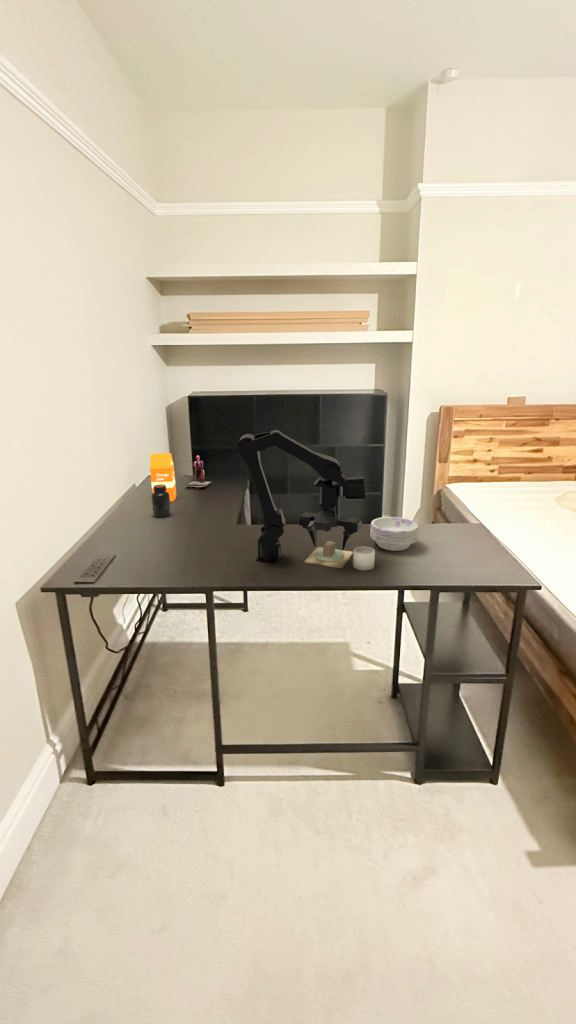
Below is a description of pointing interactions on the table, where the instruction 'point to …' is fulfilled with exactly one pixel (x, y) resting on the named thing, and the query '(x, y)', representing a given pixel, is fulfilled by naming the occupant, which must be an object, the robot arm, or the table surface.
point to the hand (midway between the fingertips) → (329, 547)
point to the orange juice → (163, 472)
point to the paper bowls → (394, 533)
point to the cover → (329, 553)
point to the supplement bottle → (161, 501)
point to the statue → (198, 475)
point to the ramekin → (363, 558)
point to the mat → (337, 564)
